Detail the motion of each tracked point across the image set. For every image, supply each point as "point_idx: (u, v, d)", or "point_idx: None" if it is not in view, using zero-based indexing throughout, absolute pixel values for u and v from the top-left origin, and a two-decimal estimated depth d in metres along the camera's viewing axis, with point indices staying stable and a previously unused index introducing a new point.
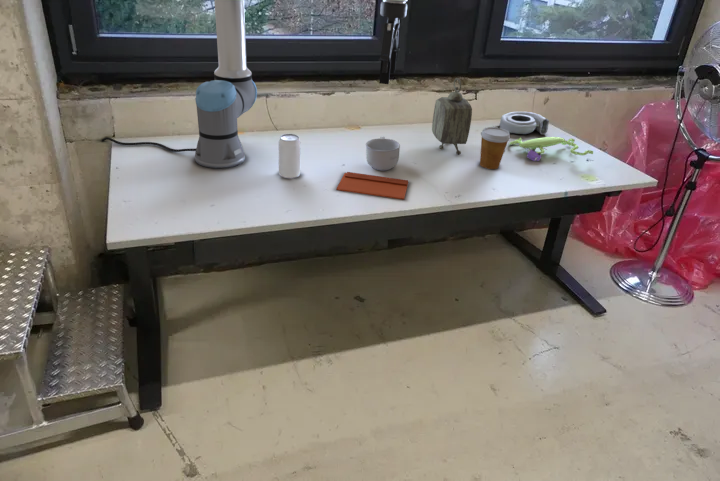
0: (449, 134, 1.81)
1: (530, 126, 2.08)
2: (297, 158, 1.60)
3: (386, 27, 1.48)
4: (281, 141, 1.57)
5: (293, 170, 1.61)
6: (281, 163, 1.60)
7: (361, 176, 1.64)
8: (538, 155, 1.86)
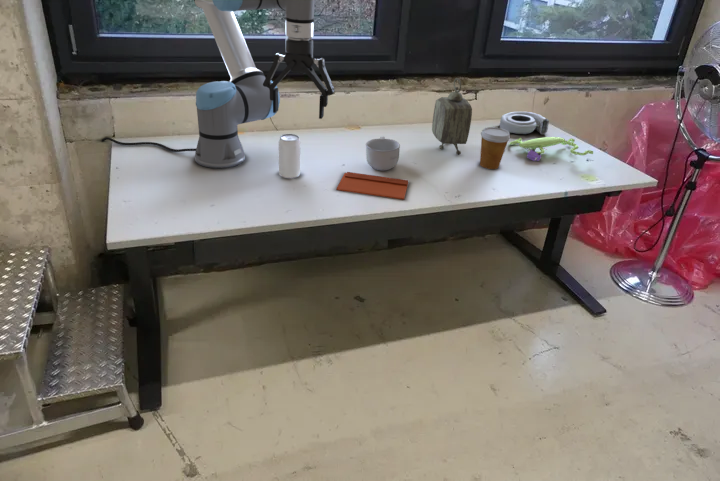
0: (449, 134, 1.81)
1: (530, 126, 2.08)
2: (297, 158, 1.60)
3: None
4: (281, 141, 1.57)
5: (293, 170, 1.61)
6: (281, 163, 1.60)
7: (361, 176, 1.64)
8: (538, 155, 1.86)
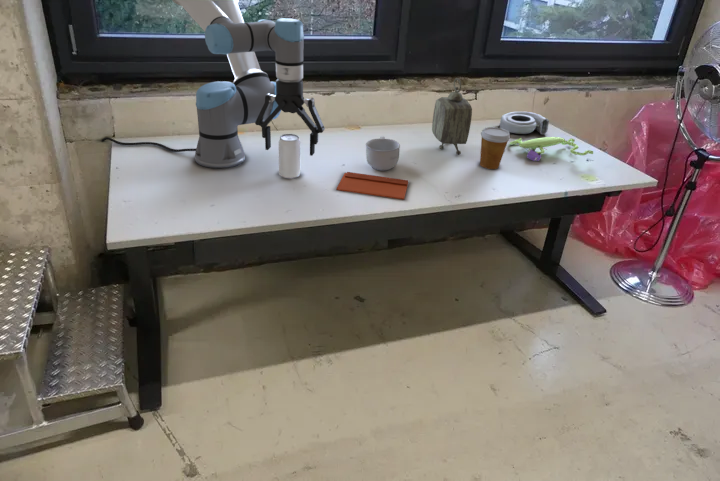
0: (449, 134, 1.81)
1: (530, 126, 2.08)
2: (297, 158, 1.60)
3: None
4: (281, 141, 1.57)
5: (293, 170, 1.61)
6: (281, 163, 1.60)
7: (361, 176, 1.64)
8: (538, 155, 1.86)
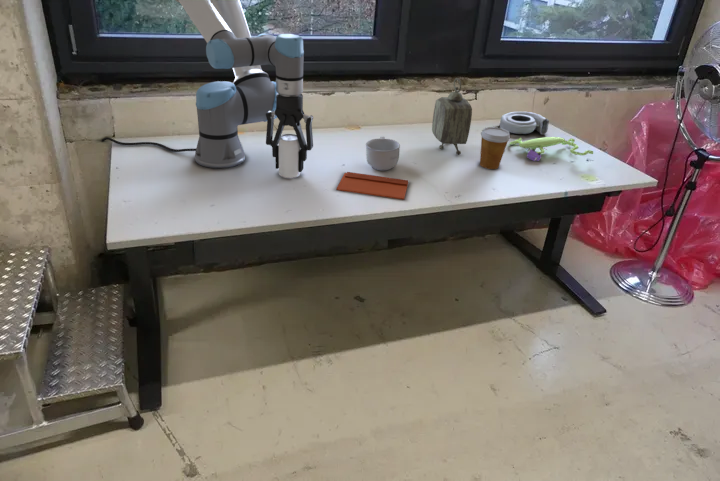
0: (449, 134, 1.81)
1: (530, 126, 2.08)
2: (297, 158, 1.60)
3: None
4: (281, 141, 1.57)
5: (293, 170, 1.61)
6: (281, 163, 1.60)
7: (361, 176, 1.64)
8: (538, 155, 1.86)
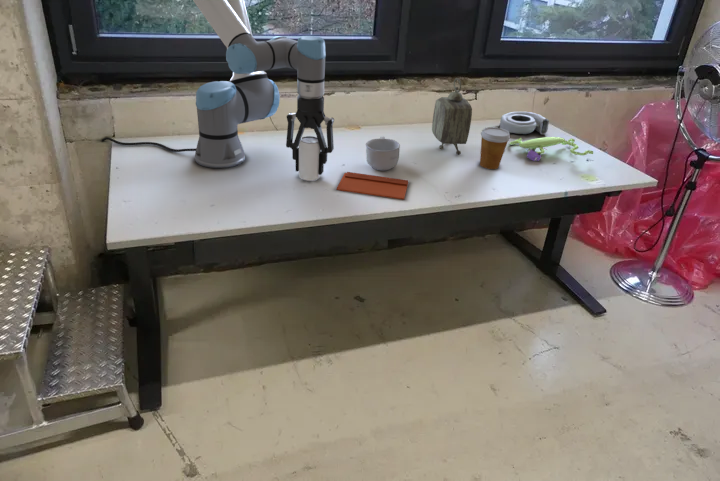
0: (449, 134, 1.81)
1: (530, 126, 2.08)
2: (317, 161, 1.59)
3: None
4: (302, 143, 1.56)
5: (313, 172, 1.60)
6: (301, 166, 1.59)
7: (361, 176, 1.64)
8: (538, 155, 1.86)
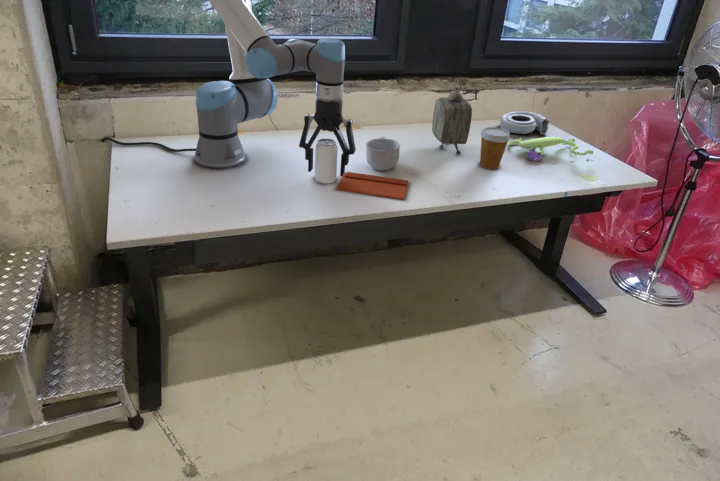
0: (449, 134, 1.81)
1: (530, 126, 2.08)
2: (334, 163, 1.58)
3: None
4: (319, 146, 1.56)
5: (330, 175, 1.59)
6: (318, 168, 1.59)
7: (361, 176, 1.64)
8: (538, 155, 1.86)
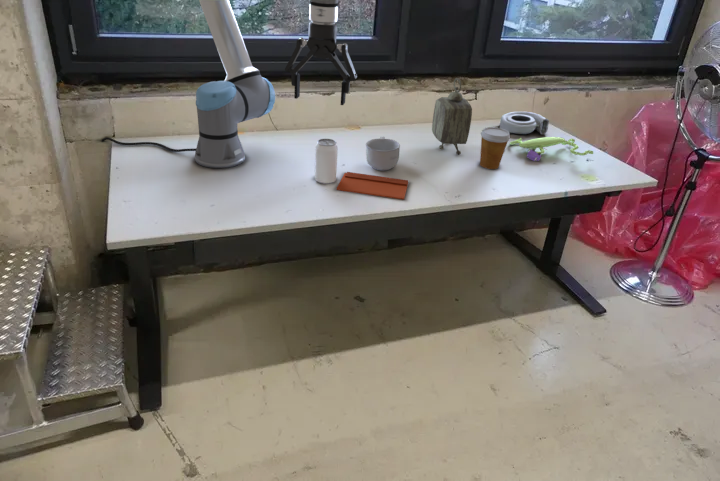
0: (449, 134, 1.81)
1: (530, 126, 2.08)
2: (334, 163, 1.58)
3: None
4: (319, 146, 1.56)
5: (330, 175, 1.59)
6: (318, 168, 1.59)
7: (361, 176, 1.64)
8: (538, 155, 1.86)
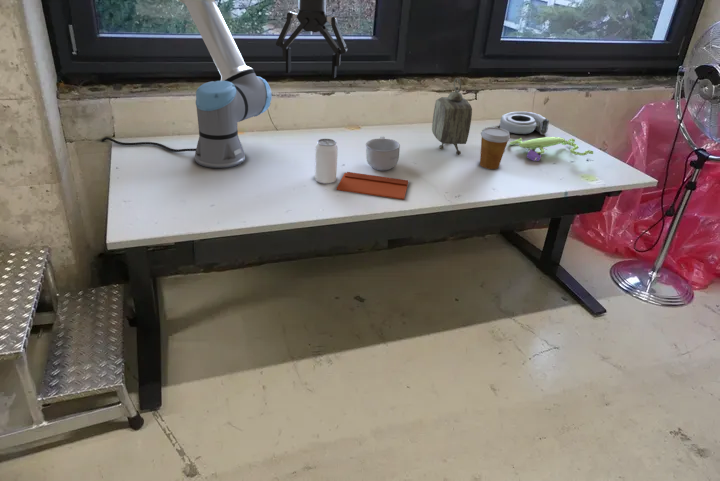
0: (449, 134, 1.81)
1: (530, 126, 2.08)
2: (334, 163, 1.58)
3: None
4: (319, 146, 1.56)
5: (330, 175, 1.59)
6: (318, 168, 1.59)
7: (361, 176, 1.64)
8: (538, 155, 1.86)
